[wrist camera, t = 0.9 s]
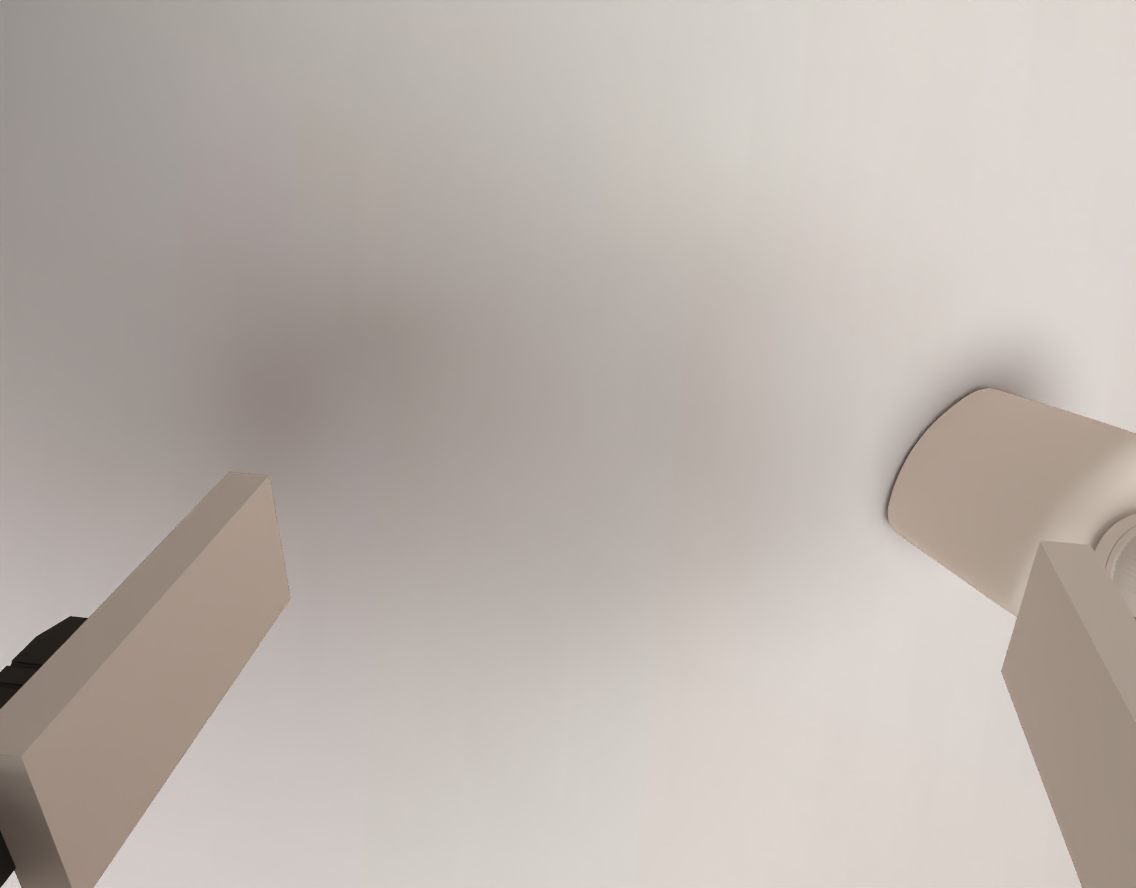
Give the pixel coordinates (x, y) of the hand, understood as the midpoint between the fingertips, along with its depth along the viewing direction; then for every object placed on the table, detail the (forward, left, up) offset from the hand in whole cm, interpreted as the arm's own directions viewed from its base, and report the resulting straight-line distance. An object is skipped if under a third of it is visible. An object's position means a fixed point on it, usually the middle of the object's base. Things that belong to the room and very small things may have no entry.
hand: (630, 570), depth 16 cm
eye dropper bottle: (+3, +13, -13) cm, 19 cm away
